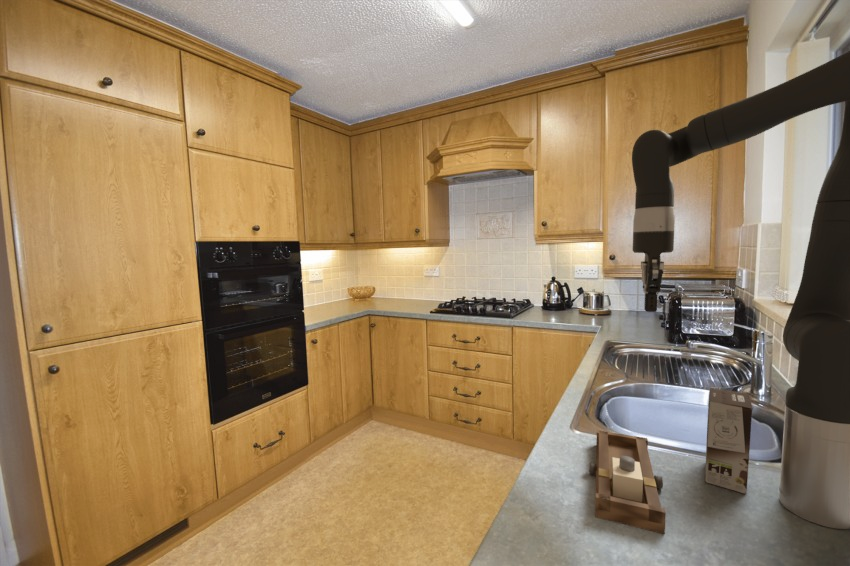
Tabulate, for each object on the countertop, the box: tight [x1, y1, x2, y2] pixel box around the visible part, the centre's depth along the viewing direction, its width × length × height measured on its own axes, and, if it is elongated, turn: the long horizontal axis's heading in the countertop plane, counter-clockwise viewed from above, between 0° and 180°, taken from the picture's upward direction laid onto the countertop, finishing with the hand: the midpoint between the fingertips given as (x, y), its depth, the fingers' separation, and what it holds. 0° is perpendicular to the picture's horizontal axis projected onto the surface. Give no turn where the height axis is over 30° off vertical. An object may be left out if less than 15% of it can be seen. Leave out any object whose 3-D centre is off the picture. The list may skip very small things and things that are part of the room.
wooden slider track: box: [588, 429, 667, 535], centre depth 75 cm, size 12×26×4 cm, turn 156°
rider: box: [612, 456, 643, 502], centre depth 70 cm, size 4×6×6 cm
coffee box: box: [704, 387, 753, 494], centre depth 75 cm, size 9×6×16 cm
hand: (650, 311), depth 84 cm, fingers closed
